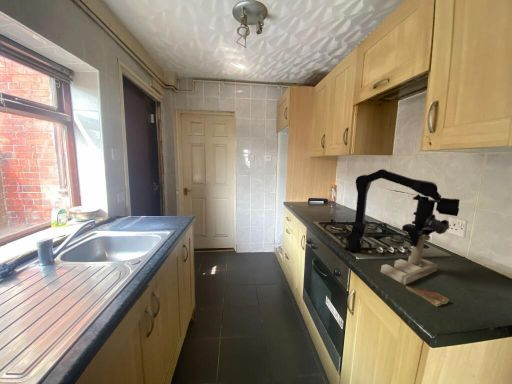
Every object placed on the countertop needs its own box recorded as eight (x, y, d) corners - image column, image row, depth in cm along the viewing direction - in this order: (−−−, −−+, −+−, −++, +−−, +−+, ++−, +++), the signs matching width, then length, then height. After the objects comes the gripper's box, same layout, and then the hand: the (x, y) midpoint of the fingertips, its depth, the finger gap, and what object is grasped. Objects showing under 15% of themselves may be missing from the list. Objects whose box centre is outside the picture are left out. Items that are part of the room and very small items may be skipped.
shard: (404, 289, 82) (405, 284, 82) (418, 285, 85) (418, 281, 84) (435, 308, 72) (436, 303, 72) (450, 303, 75) (451, 298, 74)
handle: (424, 271, 93) (430, 238, 90) (406, 266, 96) (412, 234, 93) (422, 266, 97) (428, 234, 94) (405, 262, 100) (410, 231, 97)
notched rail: (380, 272, 93) (381, 265, 92) (411, 260, 103) (412, 254, 103) (405, 284, 84) (406, 277, 83) (436, 270, 95) (437, 264, 94)
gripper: (435, 219, 80) (428, 257, 83) (458, 214, 89) (451, 249, 92) (404, 211, 90) (398, 246, 93) (427, 207, 99) (421, 239, 102)
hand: (418, 245), depth 95 cm, fingers closed on handle, 5 cm apart
